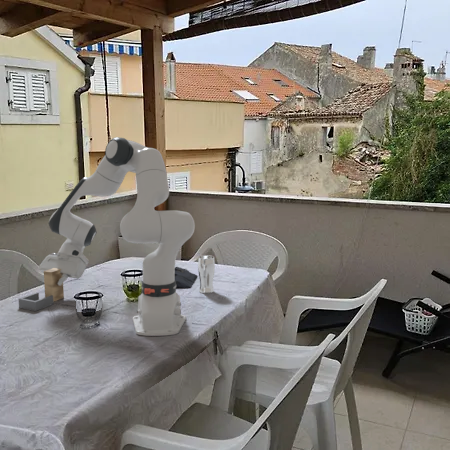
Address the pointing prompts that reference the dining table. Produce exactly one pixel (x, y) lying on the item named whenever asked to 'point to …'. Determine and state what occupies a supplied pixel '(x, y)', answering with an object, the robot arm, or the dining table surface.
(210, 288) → the beer glass
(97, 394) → the dining table surface
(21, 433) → the dining table surface
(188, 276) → the dark slate chunk
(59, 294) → the tan rectangular block
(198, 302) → the dining table surface
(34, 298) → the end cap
